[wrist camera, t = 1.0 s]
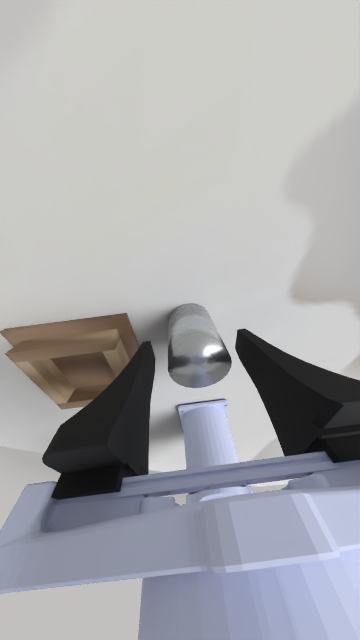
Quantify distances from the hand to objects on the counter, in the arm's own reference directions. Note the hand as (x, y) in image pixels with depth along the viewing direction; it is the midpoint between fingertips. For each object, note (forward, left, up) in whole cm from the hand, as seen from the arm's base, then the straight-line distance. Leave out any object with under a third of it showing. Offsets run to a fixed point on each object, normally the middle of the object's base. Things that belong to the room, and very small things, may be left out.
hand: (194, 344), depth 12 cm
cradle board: (-4, +12, -4) cm, 13 cm away
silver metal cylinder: (0, 0, -4) cm, 4 cm away
